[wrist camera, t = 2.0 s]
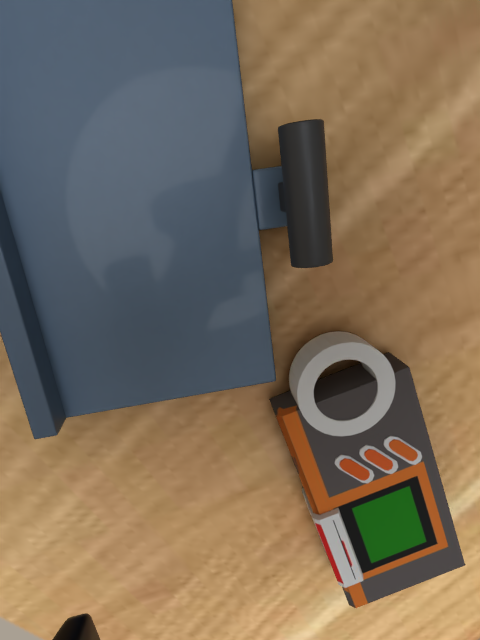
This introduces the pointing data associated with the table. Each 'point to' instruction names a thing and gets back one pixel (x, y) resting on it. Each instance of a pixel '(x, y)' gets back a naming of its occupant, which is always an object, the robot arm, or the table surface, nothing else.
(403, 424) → the electronic device
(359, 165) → the table surface
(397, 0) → the table surface
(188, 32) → the board
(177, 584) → the table surface
